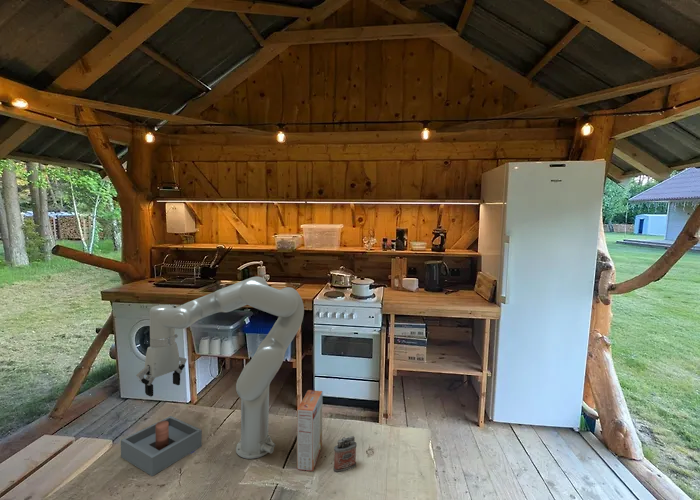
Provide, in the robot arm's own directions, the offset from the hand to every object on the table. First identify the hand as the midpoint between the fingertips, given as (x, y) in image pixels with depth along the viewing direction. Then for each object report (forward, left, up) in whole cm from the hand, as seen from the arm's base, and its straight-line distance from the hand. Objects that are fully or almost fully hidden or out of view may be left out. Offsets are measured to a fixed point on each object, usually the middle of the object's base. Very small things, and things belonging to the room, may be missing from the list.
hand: (163, 389), depth 119 cm
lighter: (-59, -26, -22) cm, 68 cm away
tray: (0, 0, -22) cm, 22 cm away
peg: (0, 0, -22) cm, 22 cm away
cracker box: (-46, -24, -22) cm, 56 cm away
